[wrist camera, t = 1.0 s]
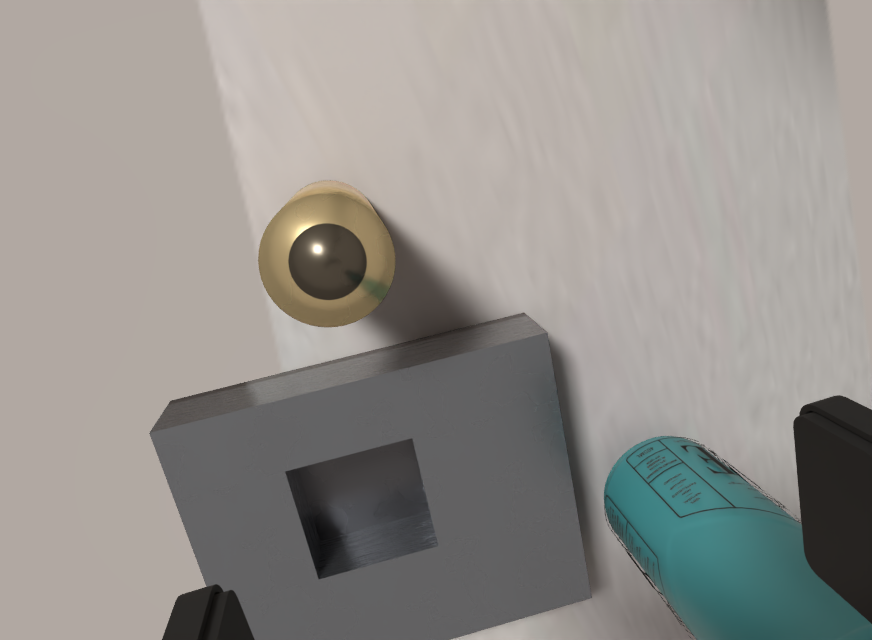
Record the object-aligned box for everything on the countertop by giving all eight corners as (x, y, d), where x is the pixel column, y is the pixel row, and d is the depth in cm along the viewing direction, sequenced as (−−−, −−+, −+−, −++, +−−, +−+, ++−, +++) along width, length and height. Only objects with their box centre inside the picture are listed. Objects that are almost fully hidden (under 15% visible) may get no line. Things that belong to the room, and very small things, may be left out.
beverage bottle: (576, 525, 34) (878, 994, 15) (602, 410, 33) (973, 772, 14) (685, 531, 36) (1093, 972, 16) (715, 421, 34) (1203, 767, 15)
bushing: (270, 192, 28) (240, 210, 19) (365, 171, 28) (378, 179, 19) (296, 284, 29) (279, 341, 20) (386, 263, 29) (408, 310, 21)
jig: (170, 400, 29) (149, 432, 26) (524, 312, 31) (547, 332, 27) (257, 643, 33) (248, 698, 30) (567, 554, 35) (591, 597, 31)
